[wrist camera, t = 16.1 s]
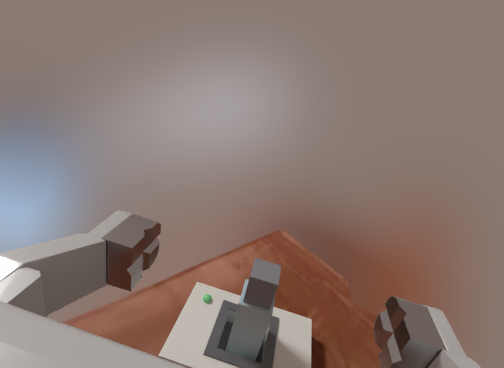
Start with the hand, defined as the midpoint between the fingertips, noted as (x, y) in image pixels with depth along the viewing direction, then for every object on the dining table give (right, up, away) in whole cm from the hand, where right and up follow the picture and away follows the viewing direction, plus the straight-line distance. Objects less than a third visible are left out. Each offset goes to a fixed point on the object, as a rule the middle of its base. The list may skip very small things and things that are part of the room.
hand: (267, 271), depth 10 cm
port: (-2, -19, +29) cm, 35 cm away
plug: (-2, -19, +28) cm, 34 cm away
